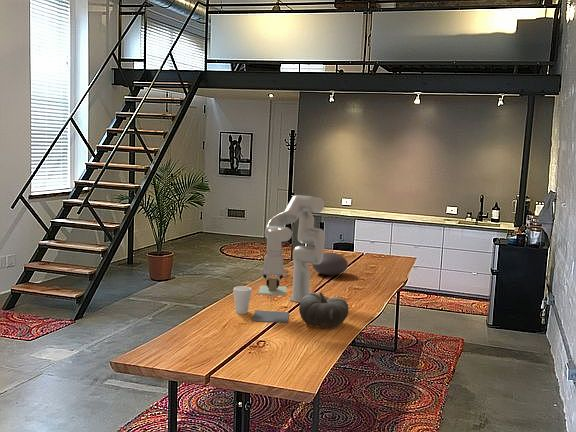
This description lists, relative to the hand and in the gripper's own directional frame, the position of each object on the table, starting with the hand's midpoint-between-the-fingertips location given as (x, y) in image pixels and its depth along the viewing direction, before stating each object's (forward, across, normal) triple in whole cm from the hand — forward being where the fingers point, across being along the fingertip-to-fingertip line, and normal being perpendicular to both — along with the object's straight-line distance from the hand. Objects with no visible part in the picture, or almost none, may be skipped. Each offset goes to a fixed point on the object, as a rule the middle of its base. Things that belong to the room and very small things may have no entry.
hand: (272, 286), depth 330 cm
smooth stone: (+20, -34, -105) cm, 112 cm away
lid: (+2, 0, 0) cm, 2 cm away
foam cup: (+16, +16, -5) cm, 24 cm away
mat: (+16, 0, +1) cm, 16 cm away
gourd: (+16, -27, +9) cm, 32 cm away
